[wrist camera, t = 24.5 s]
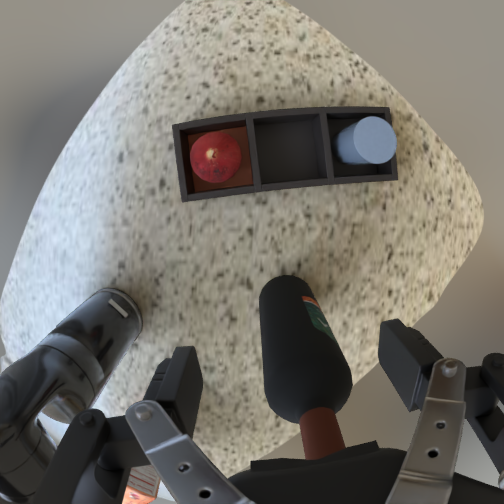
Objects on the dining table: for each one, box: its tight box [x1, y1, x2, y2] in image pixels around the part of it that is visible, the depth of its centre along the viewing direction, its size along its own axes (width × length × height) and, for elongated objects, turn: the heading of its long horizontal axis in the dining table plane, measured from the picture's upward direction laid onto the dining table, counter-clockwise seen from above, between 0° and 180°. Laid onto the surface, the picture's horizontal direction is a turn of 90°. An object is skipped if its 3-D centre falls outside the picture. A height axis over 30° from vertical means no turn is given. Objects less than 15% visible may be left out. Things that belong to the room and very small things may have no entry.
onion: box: [190, 132, 242, 183], centre depth 32 cm, size 6×6×8 cm
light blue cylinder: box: [331, 116, 397, 166], centre depth 32 cm, size 5×5×9 cm
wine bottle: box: [259, 275, 353, 460], centre depth 27 cm, size 8×8×30 cm
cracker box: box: [122, 465, 161, 504], centre depth 37 cm, size 14×6×21 cm, turn 144°
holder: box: [172, 106, 398, 202], centre depth 34 cm, size 26×9×5 cm, turn 97°
